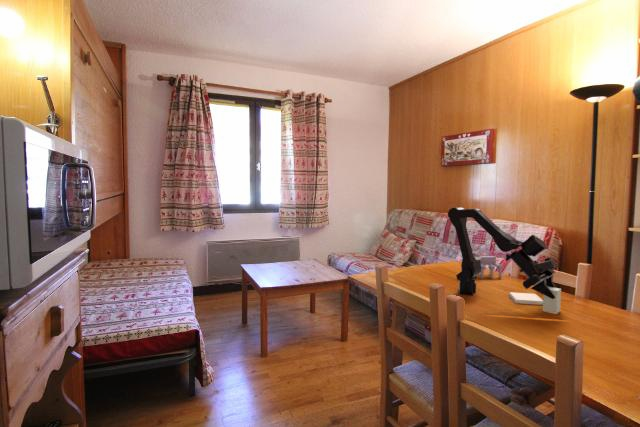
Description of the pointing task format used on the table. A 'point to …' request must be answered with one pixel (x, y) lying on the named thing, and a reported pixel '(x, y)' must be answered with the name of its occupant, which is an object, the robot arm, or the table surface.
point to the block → (552, 301)
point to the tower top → (526, 298)
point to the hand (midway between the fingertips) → (556, 297)
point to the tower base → (521, 303)
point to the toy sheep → (488, 261)
